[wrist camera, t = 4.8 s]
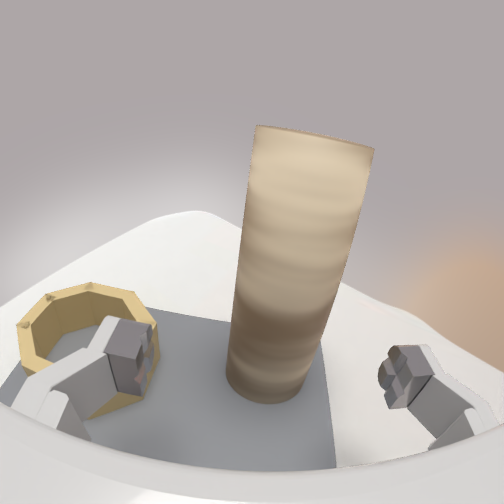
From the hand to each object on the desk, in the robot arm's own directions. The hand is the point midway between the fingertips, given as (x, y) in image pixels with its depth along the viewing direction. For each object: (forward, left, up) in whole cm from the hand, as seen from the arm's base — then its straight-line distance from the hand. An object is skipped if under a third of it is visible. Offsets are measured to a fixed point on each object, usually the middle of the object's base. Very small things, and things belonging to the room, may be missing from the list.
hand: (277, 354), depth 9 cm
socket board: (+2, +5, -9) cm, 10 cm away
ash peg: (+6, -1, -8) cm, 10 cm away
